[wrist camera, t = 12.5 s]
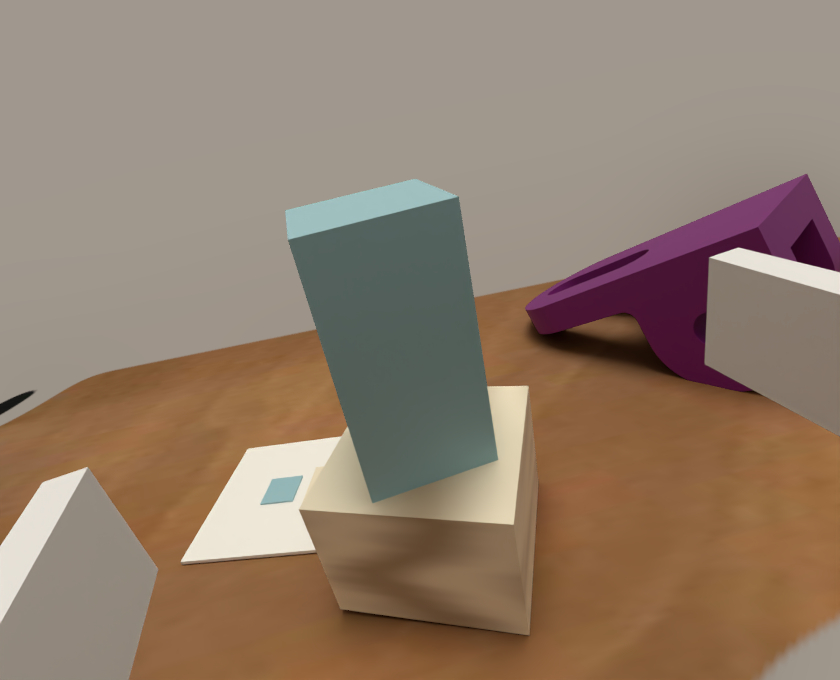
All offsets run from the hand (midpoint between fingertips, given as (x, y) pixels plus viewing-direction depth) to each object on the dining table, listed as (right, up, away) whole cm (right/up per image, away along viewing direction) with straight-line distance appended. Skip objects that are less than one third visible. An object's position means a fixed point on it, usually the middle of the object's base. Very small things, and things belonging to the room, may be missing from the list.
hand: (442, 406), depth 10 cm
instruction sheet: (-7, -7, +18) cm, 21 cm away
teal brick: (-1, -3, +10) cm, 11 cm away
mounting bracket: (+17, +1, +25) cm, 30 cm away
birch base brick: (+1, -8, +13) cm, 15 cm away
